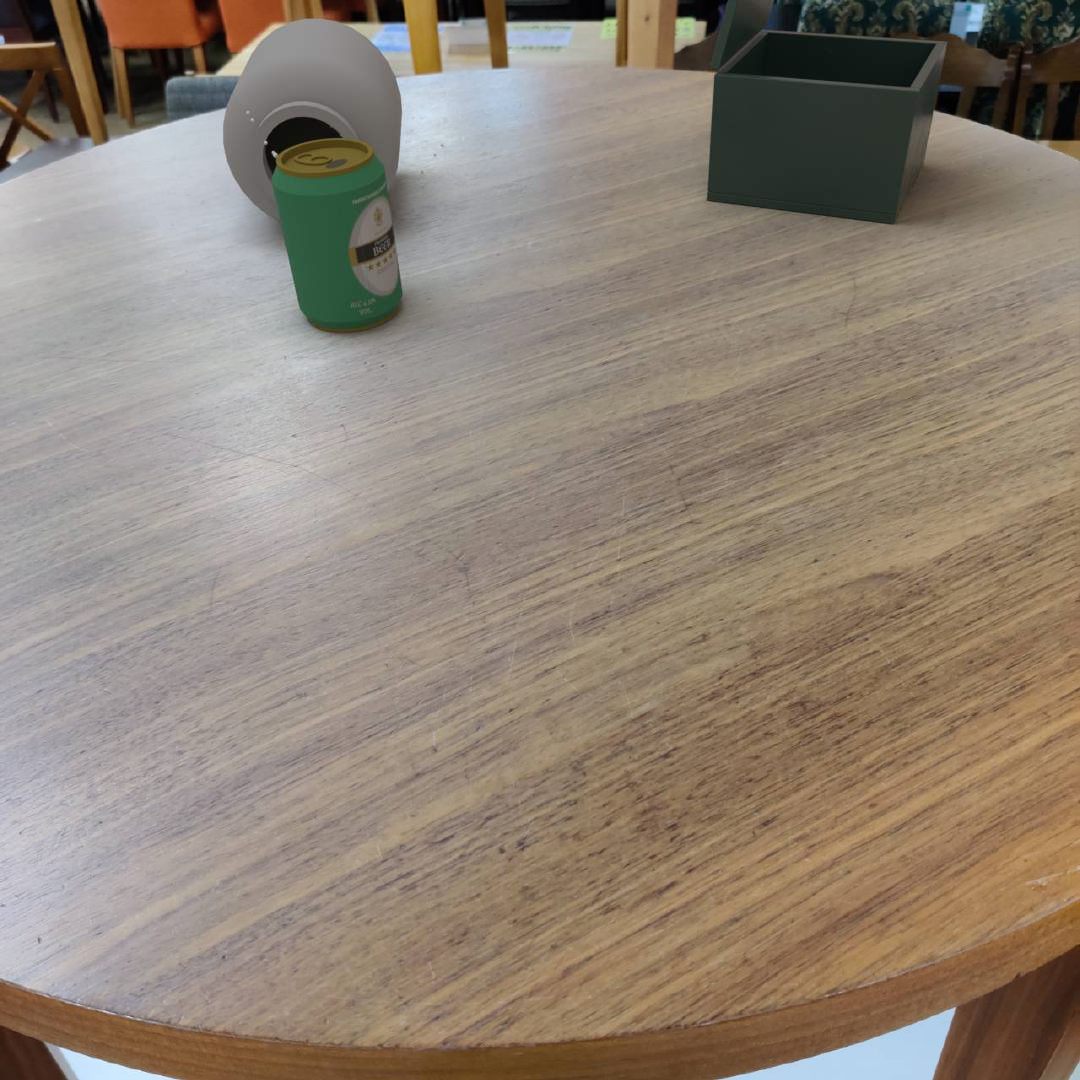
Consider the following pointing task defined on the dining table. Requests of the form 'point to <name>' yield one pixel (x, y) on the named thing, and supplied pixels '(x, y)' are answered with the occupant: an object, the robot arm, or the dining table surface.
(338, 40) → the jar
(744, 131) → the bin
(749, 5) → the bin lid
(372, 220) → the beverage can
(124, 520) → the dining table surface
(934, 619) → the dining table surface
